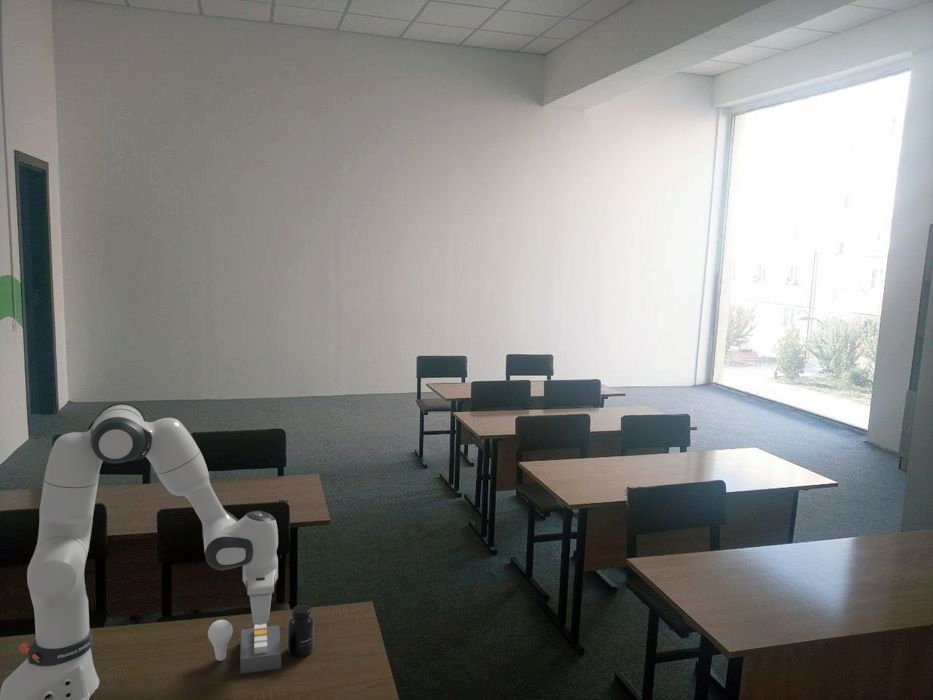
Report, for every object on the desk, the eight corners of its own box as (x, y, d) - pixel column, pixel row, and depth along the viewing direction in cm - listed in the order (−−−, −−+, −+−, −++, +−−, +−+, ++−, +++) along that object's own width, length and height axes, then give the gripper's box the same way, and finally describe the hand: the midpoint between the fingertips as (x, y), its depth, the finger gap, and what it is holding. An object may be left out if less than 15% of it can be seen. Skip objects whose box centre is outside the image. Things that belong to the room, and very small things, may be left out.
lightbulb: (225, 669, 179) (224, 629, 177) (203, 665, 180) (202, 625, 179) (237, 655, 185) (237, 617, 183) (216, 651, 186) (216, 613, 185)
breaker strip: (281, 668, 180) (281, 647, 180) (240, 673, 178) (240, 652, 177) (278, 624, 201) (278, 605, 200) (241, 628, 198) (241, 609, 197)
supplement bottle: (306, 660, 184) (306, 617, 183) (282, 655, 186) (283, 613, 184) (318, 645, 191) (318, 605, 189) (295, 641, 193) (295, 600, 191)
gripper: (248, 556, 191) (248, 603, 193) (247, 592, 172) (247, 644, 174) (272, 554, 193) (271, 600, 195) (274, 590, 173) (273, 641, 176)
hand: (260, 621), depth 184 cm, fingers closed
